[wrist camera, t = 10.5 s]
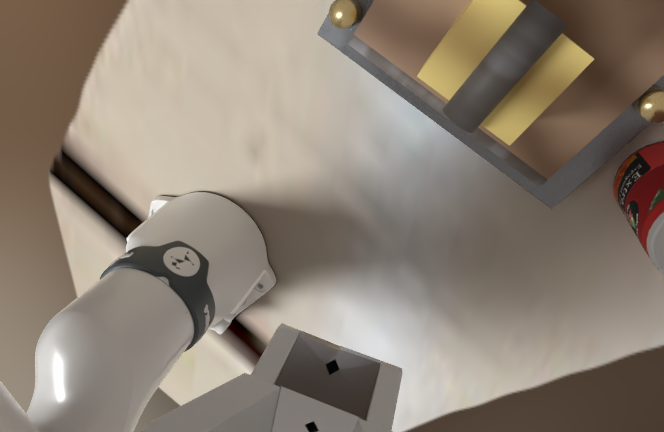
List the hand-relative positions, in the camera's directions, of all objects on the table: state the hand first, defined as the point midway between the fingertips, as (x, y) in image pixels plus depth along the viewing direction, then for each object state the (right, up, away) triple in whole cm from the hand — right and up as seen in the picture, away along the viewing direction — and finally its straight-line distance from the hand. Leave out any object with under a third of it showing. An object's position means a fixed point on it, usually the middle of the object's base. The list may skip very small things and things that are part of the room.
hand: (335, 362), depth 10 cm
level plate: (+14, +19, +22) cm, 32 cm away
